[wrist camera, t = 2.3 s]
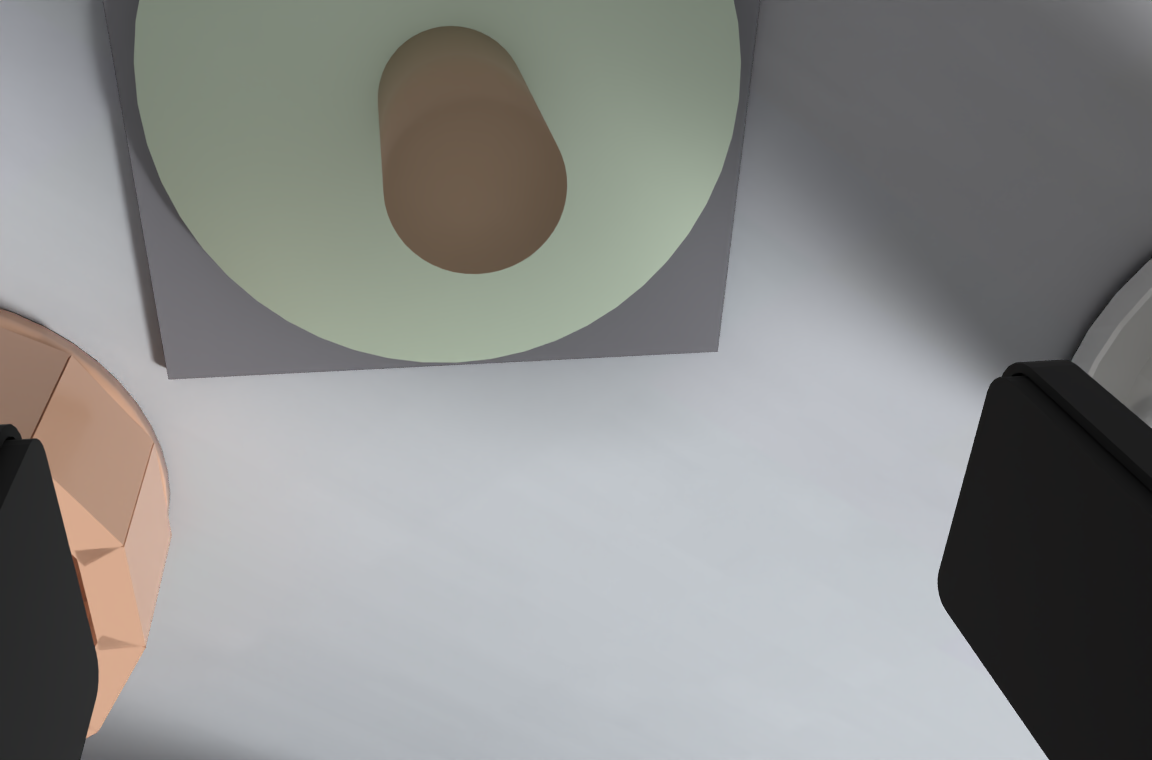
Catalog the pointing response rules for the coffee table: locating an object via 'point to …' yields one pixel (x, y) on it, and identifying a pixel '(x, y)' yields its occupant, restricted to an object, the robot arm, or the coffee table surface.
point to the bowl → (94, 487)
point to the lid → (438, 156)
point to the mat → (275, 346)
